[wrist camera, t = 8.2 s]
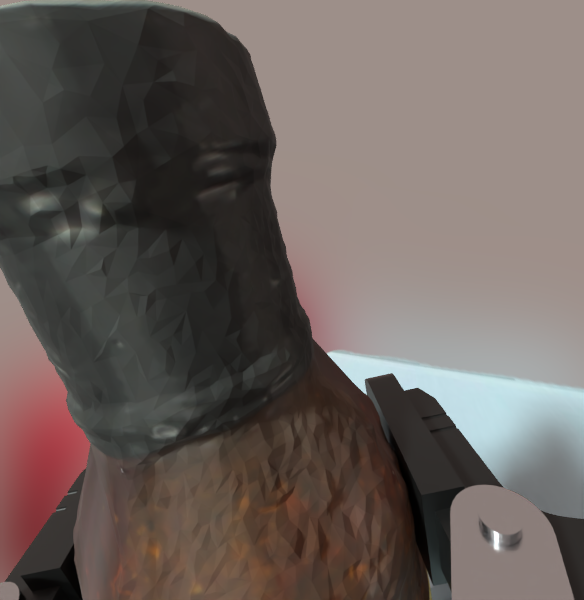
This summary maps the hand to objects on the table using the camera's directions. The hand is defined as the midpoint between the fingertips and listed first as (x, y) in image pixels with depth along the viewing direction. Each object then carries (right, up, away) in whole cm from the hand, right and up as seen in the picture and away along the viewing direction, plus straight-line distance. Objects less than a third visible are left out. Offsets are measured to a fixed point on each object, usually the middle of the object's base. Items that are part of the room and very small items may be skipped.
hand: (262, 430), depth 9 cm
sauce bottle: (+3, -12, +2) cm, 13 cm away
